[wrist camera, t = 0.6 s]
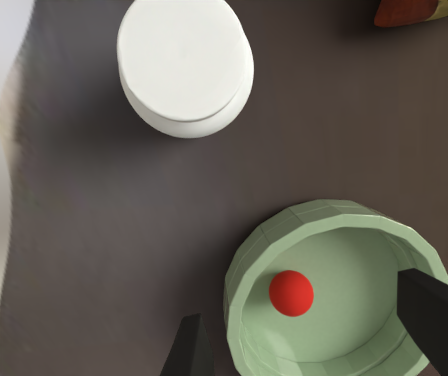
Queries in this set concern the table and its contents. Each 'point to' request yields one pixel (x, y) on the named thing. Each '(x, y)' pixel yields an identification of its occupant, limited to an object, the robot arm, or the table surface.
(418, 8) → the ocarina
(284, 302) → the ball
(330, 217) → the bowl
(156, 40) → the pill bottle
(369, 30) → the table surface
